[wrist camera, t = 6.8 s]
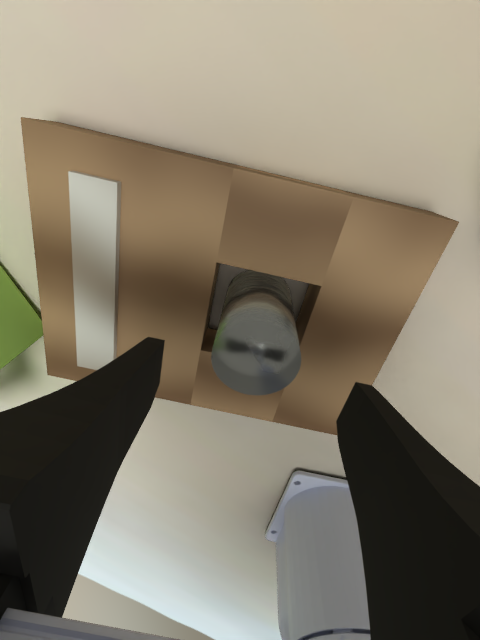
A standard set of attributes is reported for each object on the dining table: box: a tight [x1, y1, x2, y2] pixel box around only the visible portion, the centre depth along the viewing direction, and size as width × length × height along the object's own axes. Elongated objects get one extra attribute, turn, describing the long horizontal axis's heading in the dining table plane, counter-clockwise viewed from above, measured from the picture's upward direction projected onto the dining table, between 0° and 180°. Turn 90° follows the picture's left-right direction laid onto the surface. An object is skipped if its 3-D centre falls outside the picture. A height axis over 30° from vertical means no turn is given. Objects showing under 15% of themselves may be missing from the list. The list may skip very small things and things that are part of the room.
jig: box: [21, 117, 459, 435], centre depth 17 cm, size 13×18×3 cm
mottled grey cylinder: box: [211, 270, 301, 395], centre depth 15 cm, size 4×4×6 cm
